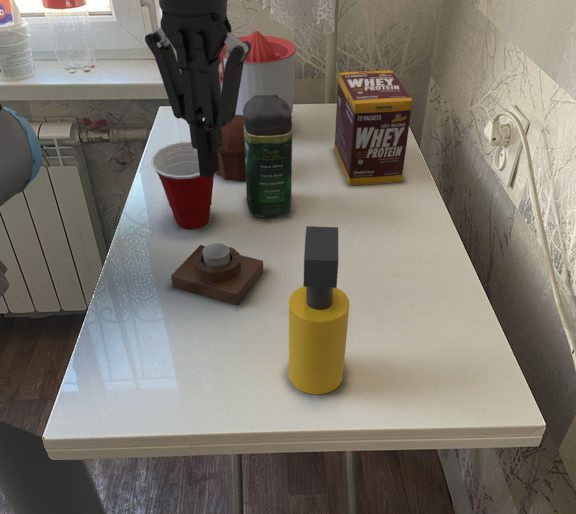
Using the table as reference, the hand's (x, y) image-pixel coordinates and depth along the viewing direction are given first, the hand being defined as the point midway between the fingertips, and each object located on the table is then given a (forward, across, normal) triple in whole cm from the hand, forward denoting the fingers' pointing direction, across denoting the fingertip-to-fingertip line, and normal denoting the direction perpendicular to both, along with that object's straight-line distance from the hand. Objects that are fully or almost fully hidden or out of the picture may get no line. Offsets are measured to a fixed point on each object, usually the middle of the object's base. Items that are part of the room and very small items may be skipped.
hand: (209, 172), depth 82 cm
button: (+14, 0, 0) cm, 14 cm away
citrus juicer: (+18, +18, -50) cm, 56 cm away
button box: (+18, 0, 0) cm, 18 cm away
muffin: (+18, +13, -33) cm, 40 cm away
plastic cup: (+18, +12, -13) cm, 25 cm away
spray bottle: (+18, -21, +13) cm, 30 cm away
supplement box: (+18, -9, -44) cm, 49 cm away
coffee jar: (+18, +2, -23) cm, 29 cm away
